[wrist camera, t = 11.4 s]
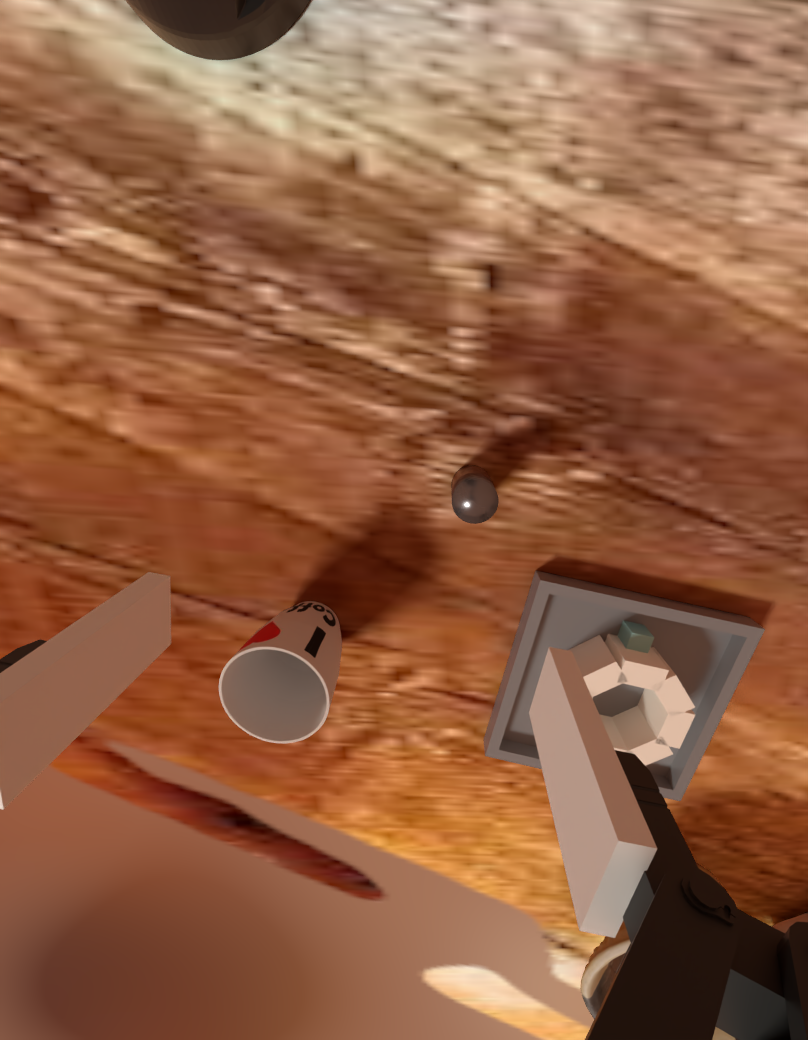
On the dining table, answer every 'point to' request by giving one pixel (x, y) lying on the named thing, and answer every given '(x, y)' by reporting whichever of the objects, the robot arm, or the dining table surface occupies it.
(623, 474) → the dining table surface
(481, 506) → the capsule
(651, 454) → the dining table surface
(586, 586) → the tray
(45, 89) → the dining table surface
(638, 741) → the ring
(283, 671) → the cup
